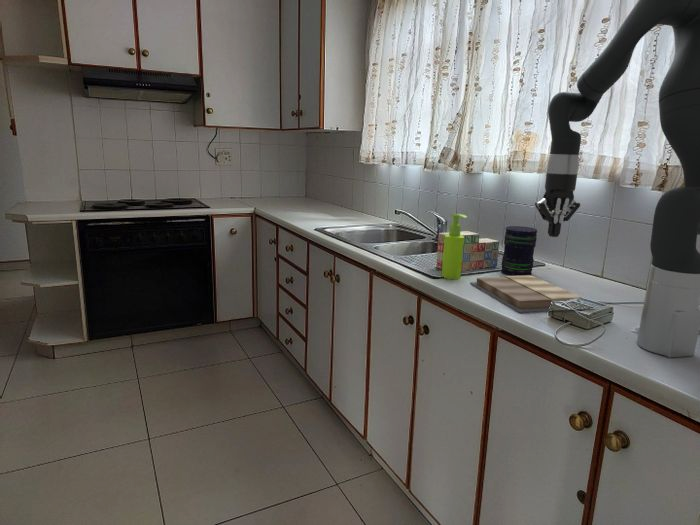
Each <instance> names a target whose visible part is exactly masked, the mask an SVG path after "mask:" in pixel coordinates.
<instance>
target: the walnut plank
mask: <svg viewBox="0 0 700 525" xmlns="http://www.w3.org/2000/svg"><path fill="white" fill-rule="evenodd" d="M476 282H477V283H476V284H477V285H479V286H480V287H482V288H484V289H486V290H487V291H489V292H491V293H492V294H494V295H496V296H498V297H499V298H501V299H503V300H505V301H506V302H508V303H510V304H512V305H513V306H515V307H517V308H519V309H522V308H541V307H550V303H551V299H549V298H547V297H545V296H543V295H541V294H539V293H537V292H534V291H532V290H530V289H528V288H526V287H524V286H522V285H520V284H518V283H516V282H514V281H512V280H510V279H508V278H506V277H505V276H489V277H488V276H487V277H485V276H483V277H476Z"/></svg>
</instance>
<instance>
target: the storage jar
mask: <svg viewBox="0 0 700 525" xmlns="http://www.w3.org/2000/svg"><path fill="white" fill-rule="evenodd" d="M537 234H538V229H537V228H534V227H528V226H519V225H517V226H516V225H510V226H506V227H505V233H504V241H503V242H504V243H503V244H504V250H503V255H502V258H501V270H500V272H501V274H503V275H505V276H525V275H532V274H533V273H532V271H533V268H534V260H535V259H534V252H535V248H536V246H537V244H536V243H537V238H538V237H537ZM532 276H533V275H532Z"/></svg>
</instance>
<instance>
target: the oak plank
mask: <svg viewBox="0 0 700 525" xmlns="http://www.w3.org/2000/svg"><path fill="white" fill-rule="evenodd" d="M504 277H506V278H508V279H510V280H512V281H514V282H516V283H518V284H520V285H522V286H524V287H526V288H528V289H530V290H532V291H534V292H537V293H539V294H541V295H543V296H545V297H547V298H549V299H551V302H553V301H567V300H570V299H573V298H582V299H583V297H582V296H579V295H577V294H575V293H573V292H570V291H568V290H566V289H564V288H561V287H559V286H558V285H554V284H552V283H550V282H548V281H546V280H543V279H541V278H538V277H536V276H534V275H525V276H509V275H505V276H504ZM550 305H551V303H550Z"/></svg>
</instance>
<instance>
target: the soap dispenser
mask: <svg viewBox="0 0 700 525" xmlns="http://www.w3.org/2000/svg"><path fill="white" fill-rule="evenodd" d="M450 217H452V222H451V223H450V224H449V230H448V232H449V234H448V235H445V239H444V251H443V264H442V270H441V278H443V277H444V279H447V280H460V279H461V275H462V271H461V266H462V255H463V244H464V236H461V235H460V232H461V231H462V230H461V229H462V225H461V224H460V223H459V220H460V219H467V218H468V216H467V215H466V214H463V213H462V214H461V213H451V214H450Z"/></svg>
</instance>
